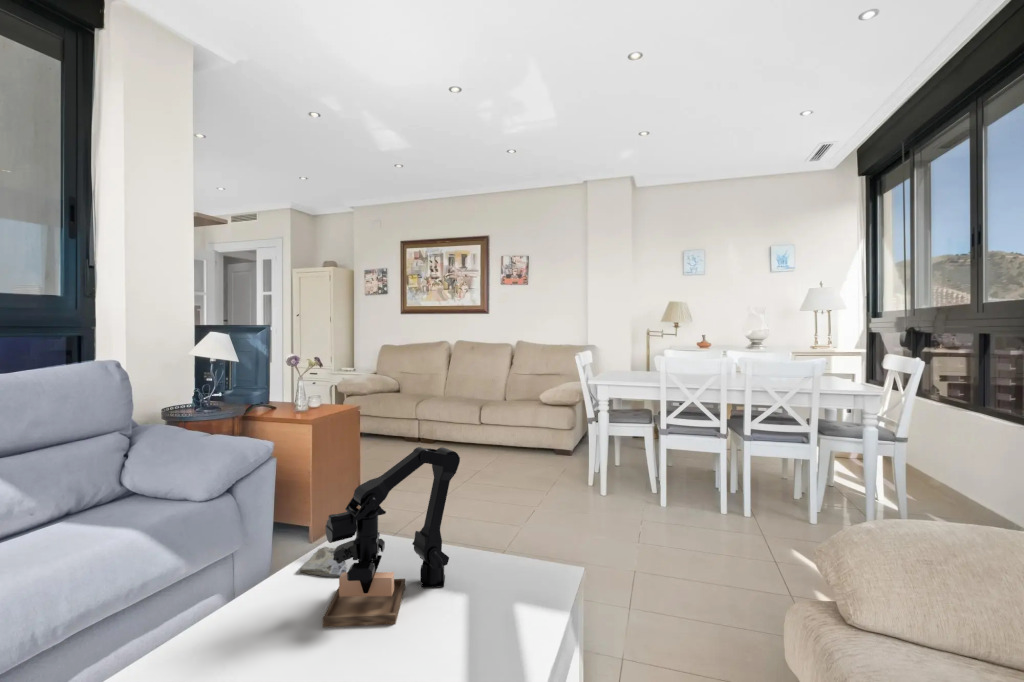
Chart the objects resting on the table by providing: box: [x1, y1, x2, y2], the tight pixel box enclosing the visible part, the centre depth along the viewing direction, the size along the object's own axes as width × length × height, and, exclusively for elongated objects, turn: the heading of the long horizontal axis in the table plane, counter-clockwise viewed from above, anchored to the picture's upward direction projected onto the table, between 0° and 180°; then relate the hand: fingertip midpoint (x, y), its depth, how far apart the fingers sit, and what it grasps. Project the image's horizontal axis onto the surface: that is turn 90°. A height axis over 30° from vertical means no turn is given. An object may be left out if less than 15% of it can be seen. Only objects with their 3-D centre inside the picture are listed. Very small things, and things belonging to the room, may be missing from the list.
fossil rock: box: [299, 546, 348, 578], centre depth 155 cm, size 18×15×2 cm
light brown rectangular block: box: [338, 571, 395, 596], centre depth 132 cm, size 14×3×5 cm, turn 91°
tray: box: [322, 578, 406, 628], centre depth 132 cm, size 18×18×2 cm
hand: (367, 589), depth 132 cm, fingers closed on light brown rectangular block, 3 cm apart
